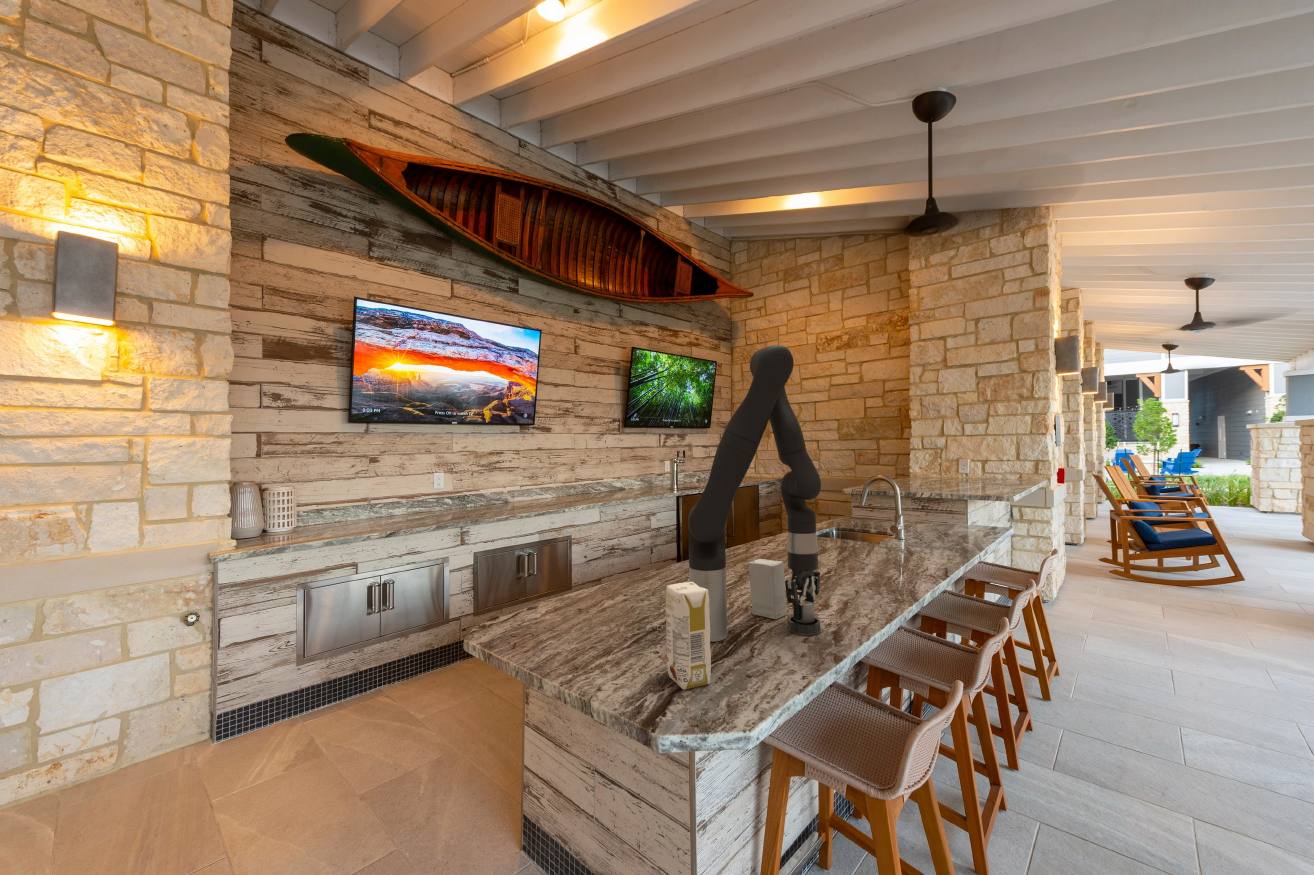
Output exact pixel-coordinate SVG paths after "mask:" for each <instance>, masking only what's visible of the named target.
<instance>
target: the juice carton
mask: <svg viewBox="0 0 1314 875" xmlns="http://www.w3.org/2000/svg"><path fill="white" fill-rule="evenodd" d="M665 591H666V592H665V630H666V631H665V633H666V634H665V637H666V638H665V639H666V643H665V644H666V667H667V674H668V676H669V678H670V679H671V680H672V681H673V682H675V683H676V684H677V685H678V686H679V688H681V689H682V690H689V689H693V688H698V687H702V686H705V685H709V684H711V674H712V673H711V672H712V659H711V658H712V657H711V656H712V654H711V651H712V650H711V642H710V605H709V594H708V589H705V588H702V587H699V586H698V585H697V584H695V583H694V582H690V581H688V582H687V581H686V582H679V583H678V582H677V583H673V584H666V590H665Z"/></svg>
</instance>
